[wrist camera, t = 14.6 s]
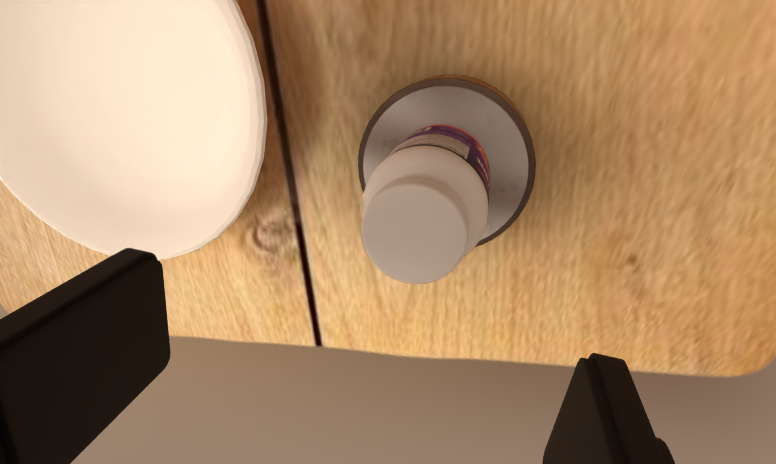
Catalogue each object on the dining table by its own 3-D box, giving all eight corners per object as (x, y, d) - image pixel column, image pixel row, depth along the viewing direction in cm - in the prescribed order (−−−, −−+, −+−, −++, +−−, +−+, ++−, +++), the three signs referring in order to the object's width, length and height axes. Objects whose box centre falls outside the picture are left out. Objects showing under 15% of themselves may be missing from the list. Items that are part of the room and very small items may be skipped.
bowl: (-14, 15, 31) (-129, 8, 26) (196, -177, 24) (101, -247, 19) (152, 261, 36) (87, 302, 30) (366, 159, 29) (334, 187, 23)
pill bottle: (480, 223, 26) (472, 314, 17) (389, 207, 27) (337, 286, 18) (500, 129, 24) (501, 178, 15) (400, 114, 25) (346, 153, 16)
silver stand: (378, 62, 27) (365, 65, 24) (552, 88, 25) (558, 94, 23) (361, 219, 31) (348, 235, 28) (510, 250, 29) (512, 269, 27)
